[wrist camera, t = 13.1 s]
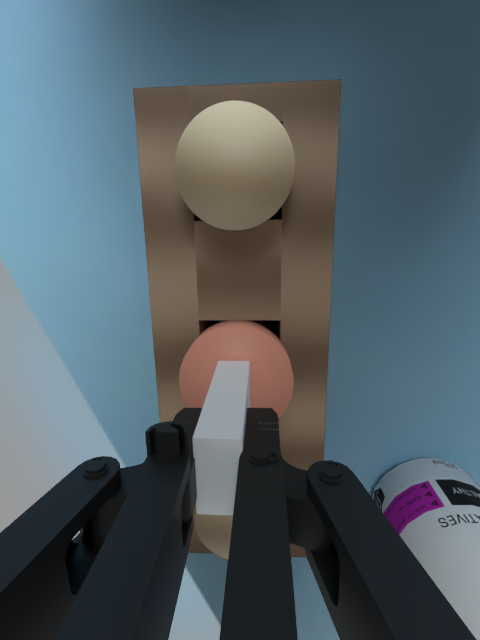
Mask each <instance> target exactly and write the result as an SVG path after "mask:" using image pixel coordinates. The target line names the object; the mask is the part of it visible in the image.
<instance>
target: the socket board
mask: <svg viewBox="0 0 480 640" xmlns="http://www.w3.org/2000/svg"><path fill="white" fill-rule="evenodd" d="M133 93H134V106H135V118H136V130H137V143H138V155H139V168H140V180H141V192H142V205H143V217H144V230H145V242H146V255H147V267H148V279H149V292H150V304H151V317H152V329H153V342H154V354H155V366H156V379H157V391H158V404H159V416H160V423H162V422H168V421H173V419H174V417H175V415H176V414H177V413H178V412H179V411H180V410H182V409H183V408H187V406H186V404H185V403H184V400H183V398H182V395H181V392H180V386H179V372H180V367H181V364H182V361H183V359H184V357H185V355H186V353H187V352H188V350H189V348H190V347H191V345H192V344H193V342H194V340H195V339H196V338H197V337H198V336H199V335H200V334H201V333H202V332H203V331H204V330H206V329H207V328H209V327H211V326H213V325H214V320H277V330H276V336H277V337H278V338H279V339H280V340H281V342H282V343H283V345H284V346H285V348H286V350H287V352H288V355H289V358H290V362H291V367H292V372H293V378H294V387H293V393H292V398H291V400H290V403H289V405H288V407H287V408H286V410H285V411H284V413H283V414H282V415H281V416H280V417H279V418H278V424H279V436H280V448H281V455H282V457H283V459H284V460H285V461H286V462H287V463H288V464H290V465H292V466H294V467H296V468H299V469H303V470H307V471H308V469H309V466H311V465H312V464H313V463H315V462H319V461H323V457H324V435H325V414H326V393H327V371H328V350H329V329H330V307H331V286H332V265H333V243H334V222H335V201H336V179H337V158H338V137H339V116H340V94H341V79H336V80H313V81H291V82H268V83H245V84H222V85H199V86H177V87H154V88H133ZM233 100H234V101H245V102H250V103H253V104H256V105H258V106H260V107H262V108H264V109H266V110H267V111H269V112H270V113H271V114H273V115H274V116H275V117H276V118H277V119H278V120H279V122H280V123H281V124H282V125H283V127H284V128H285V130H286V132H287V133H288V136H289V138H290V140H291V143H292V146H293V150H294V156H295V174H294V180H293V184H292V187H291V190H290V192H289V194H288V197H287V199H286V200H285V202H284V203H283V205H282V206H281V207H280V209H279V210H278V216H277V220H267V221H266V222H264V223H262V224H260V225H258V226H256V227H253V228H250V229H245V230H225V229H220V228H217V227H214V226H212V225H210V224H208V223H206V222H204V221H203V220H201V219H200V218H199V217H198V216H196V215H195V214H194V213H193V212H192V211H191V209H190V208H189V207H188V206H187V204H186V203H185V201H184V200H183V198H182V196H181V194H180V191H179V188H178V185H177V181H176V176H175V155H176V150H177V146H178V143H179V140H180V138H181V136H182V134H183V132H184V130H185V129H186V127H187V126H188V124H189V123H190V122H191V121H192V120H193V119H194V118H195V116H197V115H198V114H199V113H200V112H202V111H203V110H205V109H206V108H208V107H210V106H212V105H215V104H217V103H221V102H224V101H233ZM195 517H196V503H195V507H194V512H193V520H194V528H193V533H192V537H191V542H190V546H189V550H188V552H190V553H213V552H212V551H210V550H209V549H208V548H207V547H206V546H205V545H204V544H203V543H202V541H201V539H200V538H199V536H198V534H197V530H196V526H195ZM290 553H291V557H307V556H306V553H305V548H303V547H300V546H297V545H294V544H291V543H290Z"/></svg>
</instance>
